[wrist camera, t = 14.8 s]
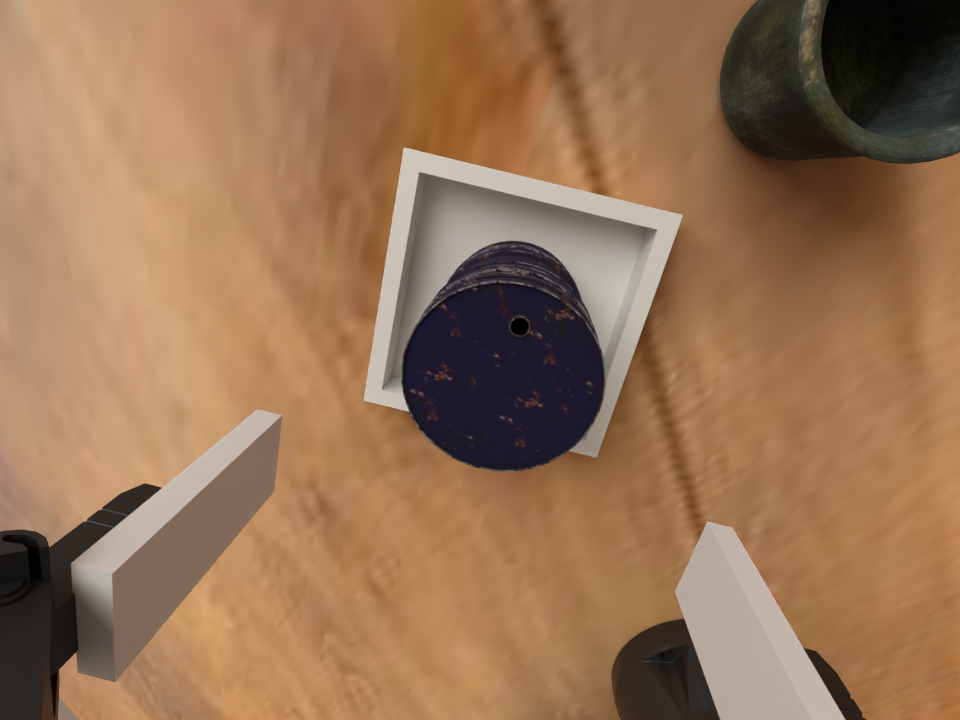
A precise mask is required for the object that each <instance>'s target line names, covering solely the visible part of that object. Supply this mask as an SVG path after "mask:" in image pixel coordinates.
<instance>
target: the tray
mask: <svg viewBox="0 0 960 720" xmlns="http://www.w3.org/2000/svg"><path fill="white" fill-rule="evenodd" d="M682 217H683V215H681V214H677V213H673V212H669V211H665V210H660V209H656V208H652V207H648V206H644V205H640V204H636V203H632V202H627V201H623V200H619V199H615V198H611V197H607V196H603V195H599V194H594V193H590V192H586V191H582V190H578V189H574V188H570V187H565V186H561V185H557V184H553V183H549V182H545V181H541V180H537V179H532V178H528V177H524V176H520V175H516V174H512V173H508V172H504V171H499V170H495V169H491V168H487V167H483V166H479V165H475V164H471V163H466V162H462V161H458V160H454V159H450V158H446V157H442V156H438V155H433V154H429V153H425V152H421V151H417V150H413V149H408V148H404V150H403V157H402V163H401V169H400V175H399V182H398V188H397V194H396V201H395V207H394V213H393V219H392V226H391V232H390V238H389V244H388V251H387V257H386V263H385V269H384V276H383V282H382V288H381V295H380V301H379V307H378V313H377V320H376V326H375V332H374V338H373V345H372V351H371V357H370V363H369V370H368V376H367V382H366V389H365V395H364V401H368V402H372V403H376V404H380V405H384V406H388V407H392V408H396V409H400V410H404V411H408V412H409V410H408V407H407V405H406V402H405V399H404V395H403V389H402V384H401V366H402V359H403V353H404V350H405V347H406V344H407V341H408V339H409V337H410V335H411V333H412V331H413V329H414V327H415V326H416V324H417V323H418V322H419V320H420V318H421V316H422V314H423V313H424V311H425V309H426V308H427V307H428V305H429V304H430V303H431V302H432V300H433V299H434V297H435V296H436V295H437V293H438V292H439V291H440V290H441V289H442V288H443V287H444V286H445V285H446V284H447V282H448V280H449V278H450V277H451V276H452V274H453V273H454V272H455V270H456V269H457V268H458V267H459V266H460V265H461V264H462V263H463V262H464V261H465V260H466V259H467V258H469V257H470V256H471V255H472V254H474V253H475V252H477V251H478V250H480V249H481V248H484V247H486V246H488V245H490V244H494V243H498V242H503V241H523V242H527V243H532V244H534V245H537V246H539V247H542V248H544V249H545V250H547V251H549V252H550V253H552V254H553V255H554V256H555V257H556V258H558V259H559V260H560V262H561V263H562V264H563V265H564V266H565V267H566V269H567V270H568V272H569V273H570V275H571V276H572V278H573V279H574V281H575V283H576V285H577V288H578V290H579V293H580V295H581V299H582V302H583V303H584V305H585V307H586V308H587V310H588V313H589V315H590V318H591V320H592V323H593V325H594V328H595V330H596V333H597V336H598V341H599V345H600V348H601V350H602V353H603V358H604V363H605V367H606V387H605V395H604V399H603V403H602V406H601V409H600V412H599V414H598V416H597V418H596V420H595V422H594V424H593V426H592V427H591V428H590V430H589V431H588V432H587V434H586V435H585V437H584V438H583V439H582V440H581V441H580V442H579V443H578V444H577V445H576V446H575V447H574V448H572V449H571V450H569V451H571V452H575V453H579V454H583V455H587V456H591V457H595V458H597V455H598V453H599V450H600V447H601V444H602V441H603V439H604V436H605V433H606V430H607V427H608V425H609V422H610V419H611V416H612V413H613V410H614V408H615V405H616V402H617V399H618V396H619V394H620V391H621V388H622V385H623V382H624V380H625V377H626V374H627V371H628V368H629V366H630V363H631V360H632V357H633V354H634V351H635V349H636V346H637V343H638V340H639V337H640V335H641V332H642V329H643V326H644V323H645V321H646V318H647V315H648V312H649V309H650V307H651V304H652V301H653V298H654V295H655V292H656V290H657V287H658V284H659V281H660V278H661V276H662V273H663V270H664V267H665V264H666V262H667V259H668V256H669V253H670V250H671V248H672V245H673V242H674V239H675V236H676V233H677V231H678V228H679V225H680V222H681V219H682Z"/></svg>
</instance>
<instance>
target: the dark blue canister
mask: <svg viewBox="0 0 960 720" xmlns="http://www.w3.org/2000/svg"><path fill="white" fill-rule="evenodd" d="M401 384H402V389H403V395H404V399H405V402H406V405H407V407H408V410H409V412H410V414H411V416H412V418H413V420H414V422H415V423H416V425H417V426H418V428H419V429H420V430H421V432H422V433H423V434H424V436H425V437H426V438H427V439H428V440H429V441H431V442H432V443H433V444H434V445H435V446H436V447H437V448H438V449H440V450H441V451H443V452H444V453H445V454H447V455H448V456H450V457H452V458H454V459H456V460H458V461H460V462H462V463H465V464H467V465H470V466H473V467H476V468H480V469H485V470H490V471H502V472H507V471H521V470H526V469H531V468H535V467H538V466H541V465H544V464H547V463H549V462H551V461H553V460H555V459H557V458H559V457H561V456H562V455H564V454H565V453H567V452H568V451H569V450H571V449H572V448H574V447H575V446H576V445H577V444H578V443H579V442H580V441H581V440H582V439H583V438H584V437H585V435H586V434H587V432H588V431H589V430H590V428H591V427H592V426H593V424H594V422H595V420H596V418H597V416H598V414H599V412H600V409H601V406H602V403H603V399H604V395H605V387H606V367H605V363H604V358H603V353H602V350H601V348H600V345H599V341H598V336H597V333H596V330H595V328H594V325H593V323H592V320H591V318H590V315H589V313H588V310H587V308H586V307H585V305H584V303H583V302H582V299H581V295H580V293H579V290H578V288H577V285H576V283H575V281H574V279H573V278H572V276H571V275H570V273H569V272H568V270H567V269H566V267H565V266H564V265H563V264H562V263H561V262H560V260H559V259H558V258H556V257H555V256H554V255H553V254H552V253H550V252H549V251H547V250H545V249H544V248H542V247H539V246H537V245H534V244H532V243H527V242H523V241H503V242H498V243H494V244H490V245H488V246H486V247H484V248H481V249H480V250H478V251H477V252H475V253H474V254H472V255H471V256H470V257H469V258H467V259H466V260H465V261H464V262H463V263H462V264H461V265H460V266H459V267H458V268H457V269H456V270H455V272H454V273H453V274H452V276H451V277H450V278H449V280H448V282H447V284H446V285H445V286H444V287H443V288H442V289H441V290H440V291H439V292H438V293H437V295H436V296H435V297H434V299H433V300H432V302H431V303H430V304H429V305H428V307H427V308H426V309H425V311H424V313H423V314H422V316H421V318H420V320H419V322H418V323H417V324H416V326H415V327H414V329H413V331H412V333H411V335H410V337H409V339H408V341H407V344H406V347H405V350H404V353H403V359H402V366H401Z"/></svg>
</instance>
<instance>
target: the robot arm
mask: <svg viewBox="0 0 960 720" xmlns="http://www.w3.org/2000/svg"><path fill="white" fill-rule="evenodd" d="M281 420H282V415H279V414H275V413H271V412H267V411H263V410H259V409H257V410H256V411H255V412H253V413H252V414H251V415H250V416H249V417H247V418H246V419H245V420H244V421H243V422H241V423H240V424H239V425H238V426H236V427H235V428H234V429H233V430H232V431H230V432H229V433H228V434H227V435H226V436H224V437H223V438H222V439H221V440H220V441H218V442H217V443H216V444H215V445H214V446H212V447H211V448H210V449H209V450H207V451H206V452H205V453H204V454H203V455H201V456H200V457H199V458H198V459H197V460H195V461H194V462H193V463H192V464H191V465H189V466H188V467H187V468H186V469H184V470H183V471H182V472H181V473H180V474H178V475H177V476H176V477H175V478H174V479H172V480H171V481H170V482H169V483H168V484H166V485H165V486H164V487H163V488H161V487H157V486H153V485H149V484H142V485H140V486H138V487H135V488H133V489H130V490H128V491H126V492H123V493H121V494H120V495H118V496H117V497H116V498H114V499H113V500H112V501H110V502H109V503H108V504H106V505H105V506H104V507H103V508H102V510H98V511H97V512H96V513H94V514H93V515H92V516H91V517H89V518H88V519H87V521H86V522H83V523H81V524H80V525H79V526H77V527H76V528H75V529H73V530H72V531H71V532H69V533H68V534H67V535H65V536H64V537H63V538H61V539H60V540H59V541H57V542H56V543H55V544H54V545H52V546H51V547H50V548H49V545H48V542H47V539H46V537H44V536H43V535H41V534H39V533H38V532H34V531H28V530H10V531H2V532H0V720H58V701H59V680H60V679H59V669H60V668H61V667H62V666H63V665H64V664H65V663H66V662H67V661H68V660H69V659H70V658H71V657H72V656H73V655H74V654H75V652H77V668H78V673H82V674H86V675H90V676H93V677H97V678H101V679H105V680H109V681H113V682H116V680H117V679H118V678H119V677H120V676H121V674H122V673H123V672H124V671H125V670H126V668H127V667H128V666H129V665H130V664H131V662H132V661H133V660H134V659H135V658H136V656H137V655H138V654H139V653H140V652H141V650H142V649H143V648H144V647H145V646H146V644H147V643H148V642H149V641H150V640H151V638H152V637H153V636H154V635H155V634H156V632H157V631H158V630H159V629H160V628H161V626H162V625H163V624H164V623H165V622H166V620H167V619H168V618H169V617H170V616H171V614H172V613H173V612H174V611H175V610H176V608H177V607H178V606H179V605H180V604H181V602H182V601H183V600H184V599H185V598H186V596H187V595H188V594H189V593H190V592H191V590H192V589H193V588H194V587H195V586H196V584H197V583H198V582H199V581H200V580H201V578H202V577H203V576H204V575H205V574H206V572H207V571H208V570H209V569H210V568H211V566H212V565H213V564H214V563H215V562H216V560H217V559H218V558H219V557H220V556H221V554H222V553H223V552H224V551H225V550H226V548H227V547H228V546H229V545H230V544H231V542H232V541H233V540H234V539H235V538H236V536H237V535H238V534H239V533H240V532H241V530H242V529H243V528H244V527H245V526H246V524H247V523H248V522H249V521H250V520H251V518H252V517H253V516H254V515H255V514H256V512H257V511H258V510H259V509H260V508H261V506H262V505H263V504H264V503H265V501H266V500H267V499H268V498H269V497H270V495H271V494H272V493H273V492H274V488H275V478H276V468H277V459H278V449H279V439H280V430H281ZM675 594H676V596H677V599H678V602H679V605H680V608H681V610H682V613H683V616H684V619H685V620H677V621H671V622H667V623H663V624H660V625H657V626H654V627H652V628H650V629H647V630H646V631H644V632H642V633H640V634H639V635H637V636H636V637H634V638H633V639H632V640H630V641H629V642H628V643H627V644H626V645H625V646H624V647H623V649H622V650H621V651H620V653H619V654H618V656H617V658H616V660H615V662H614V665H613V669H612V686H613V693H614V699H615V704H616V708H617V711H618V713H619V716H620V718H621V720H866V719H865V718H862V713H861V711H860V709H859V708H858V706H857V705H856V703H855V701H854V700H853V699H851V698H850V693H849V692H848V690H847V689H846V687H845V685H844V684H843V682H842V681H841V679H840V677H839V676H838V674H837V673H836V672H835V671H834V670H833V668H832V667H831V666H830V665H829V664H828V663H827V662H826V661H825V660H824V659H823V658H822V657H821V656H820V655H819V654H818V653H817V652H816V651H813V650H809V649H805V648H803V647H802V645H801V643H800V642H799V640H798V638H797V637H796V635H795V633H794V632H793V630H792V628H791V626H790V625H789V623H788V621H787V620H786V618H785V616H784V615H783V613H782V611H781V609H780V608H779V606H778V604H777V603H776V601H775V599H774V598H773V596H772V594H771V592H770V591H769V589H768V587H767V586H766V584H765V582H764V581H763V579H762V577H761V575H760V574H759V572H758V570H757V569H756V567H755V565H754V564H753V562H752V560H751V558H750V557H749V555H748V553H747V552H746V550H745V548H744V547H743V545H742V543H741V541H740V540H739V538H738V536H737V535H736V533H735V531H734V530H733V528H731V527H727V526H723V525H719V524H715V523H711V522H707V523H706V526H705V528H704V530H703V532H702V534H701V536H700V539H699V541H698V543H697V545H696V547H695V549H694V552H693V554H692V556H691V558H690V560H689V563H688V565H687V567H686V569H685V571H684V573H683V576H682V578H681V580H680V582H679V584H678V586H677V589H676V591H675Z"/></svg>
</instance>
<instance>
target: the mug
mask: <svg viewBox="0 0 960 720" xmlns="http://www.w3.org/2000/svg"><path fill="white" fill-rule="evenodd" d="M720 92H721V99H722V105H723V108H724V112H725V115H726V117H727V120H728V122H729V124H730V126H731V128H732V129H733V130H734V132H735V133H736V135H737V136H738V137H739V138H740V139H741V140H742V141H743V142H744V143H745V144H746V145H747V146H748V147H750V148H751V149H753V150H754V151H756V152H758V153H760V154H762V155H765V156H767V157H770V158H775V159H779V160H808V159H825V158H842V157H859V156H865V157H868V158H870V159H874V160H878V161H883V162H887V163H902V164H912V163H921V162H930V161H934V160H938V159H941V158H945V157H949V156H952V155H954V154H957V153H959V152H960V0H758V1H757V2H756V3H755V4H753V5H752V6H751V8H750V9H749V10H748V11H747V13H746V14H745V15H744V16H743V18H742V19H741V21H740V22H739V24H738V25H737V27H736V29H735V30H734V32H733V34H732V36H731V39H730V41H729V43H728V45H727V48H726V52H725V55H724V58H723V62H722V69H721V75H720Z"/></svg>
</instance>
